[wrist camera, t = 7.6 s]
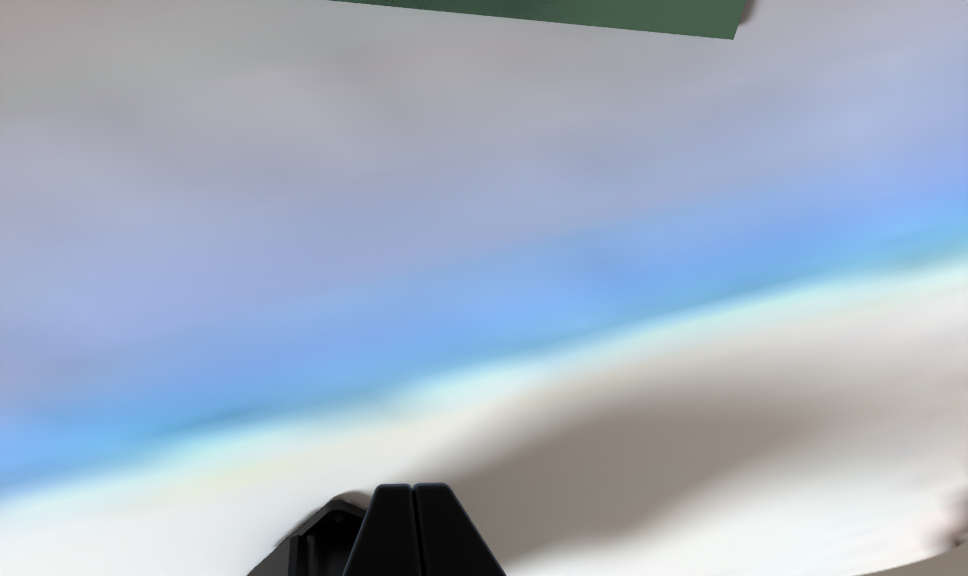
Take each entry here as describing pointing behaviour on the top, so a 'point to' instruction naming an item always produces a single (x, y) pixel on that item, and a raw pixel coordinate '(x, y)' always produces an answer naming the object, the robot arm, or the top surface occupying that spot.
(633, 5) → the green railed baseplate
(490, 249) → the top surface
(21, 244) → the top surface
